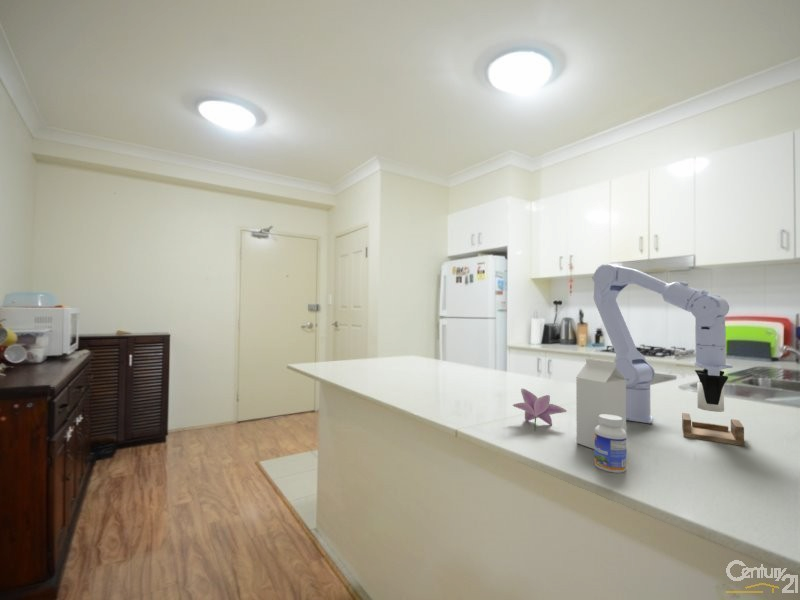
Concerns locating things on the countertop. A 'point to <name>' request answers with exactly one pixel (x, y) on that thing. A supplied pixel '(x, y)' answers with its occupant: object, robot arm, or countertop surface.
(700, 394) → the paper roll
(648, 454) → the countertop surface
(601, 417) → the pill bottle
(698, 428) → the holder
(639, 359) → the robot arm
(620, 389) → the milk carton
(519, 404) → the lily
